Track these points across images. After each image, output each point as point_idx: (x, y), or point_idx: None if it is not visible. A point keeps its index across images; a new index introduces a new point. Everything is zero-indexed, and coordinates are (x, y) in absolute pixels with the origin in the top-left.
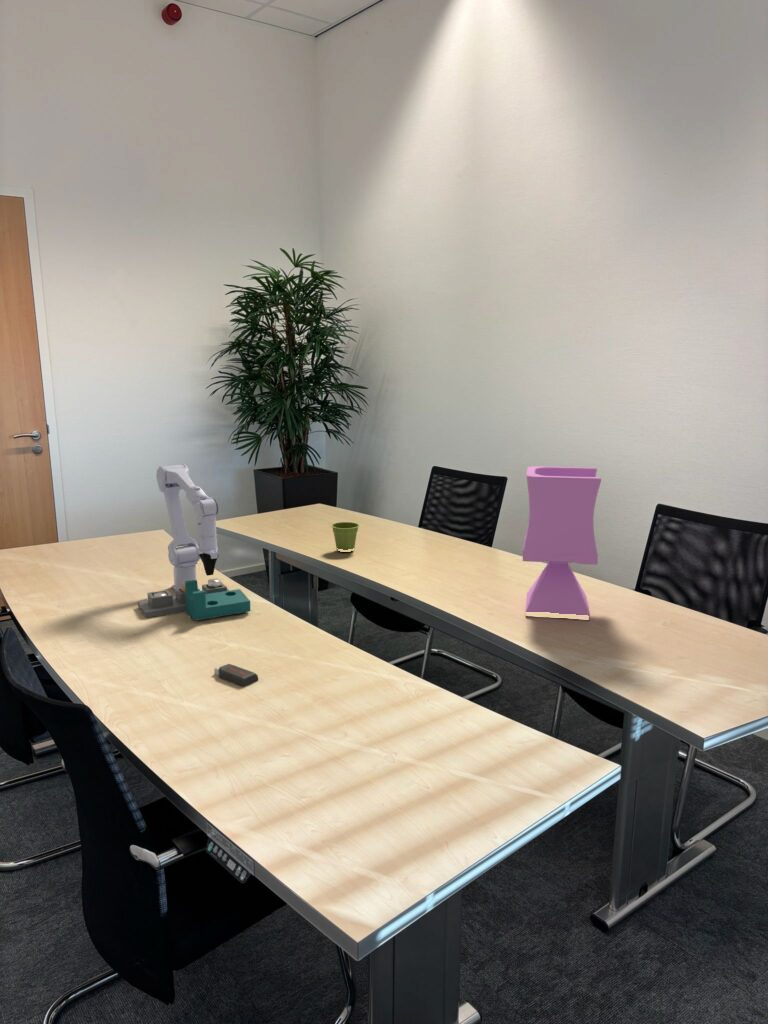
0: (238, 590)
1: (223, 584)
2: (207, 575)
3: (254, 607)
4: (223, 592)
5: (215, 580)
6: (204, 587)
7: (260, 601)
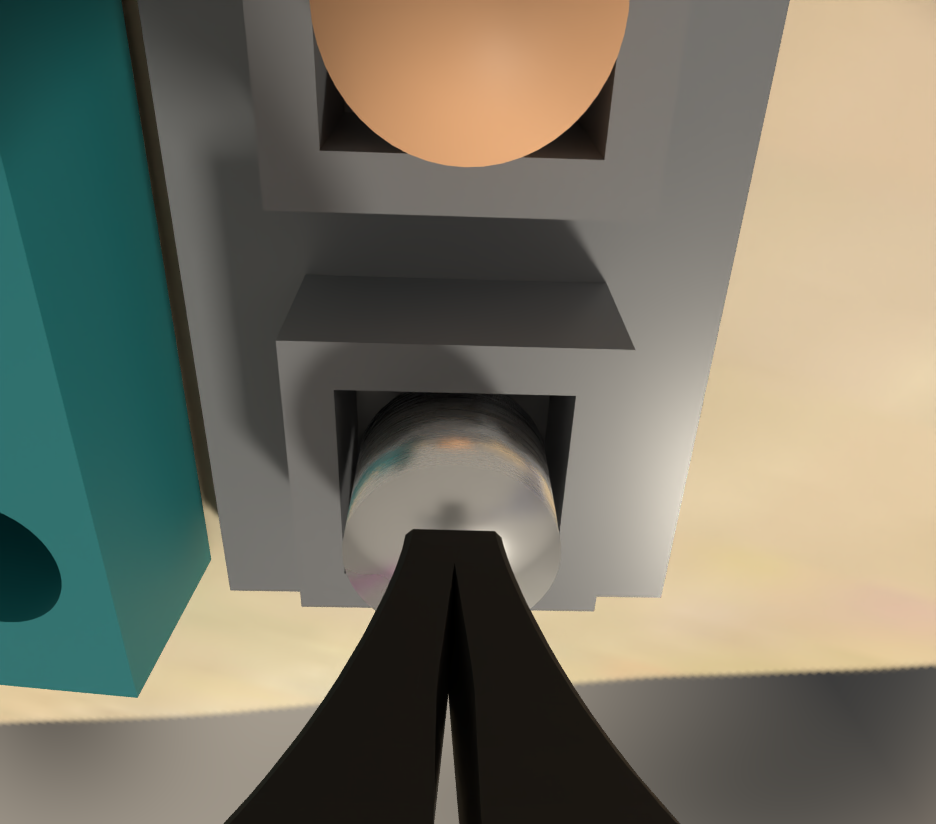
0: (89, 671)
1: None
2: (408, 533)
3: None
4: (51, 505)
5: None
6: (464, 343)
7: (217, 704)
